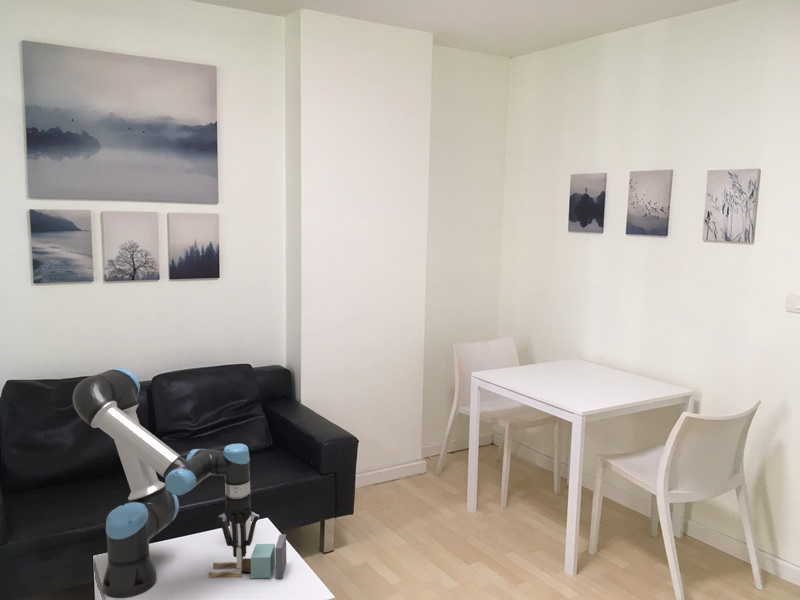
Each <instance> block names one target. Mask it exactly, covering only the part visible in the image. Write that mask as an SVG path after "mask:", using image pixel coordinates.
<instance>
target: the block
mask: <svg viewBox="0 0 800 600" xmlns="http://www.w3.org/2000/svg"><path fill="white" fill-rule="evenodd" d="M275 547H276V544H275V543H256V544H255V546H254V548H253V551H252V553H251V556H250V558H251V572H250V578H251V579H271V578H272V574H273V571H274V569H275V567H276V565H275Z"/></svg>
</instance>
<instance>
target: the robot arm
mask: <svg viewBox="0 0 800 600" xmlns="http://www.w3.org/2000/svg"><path fill="white" fill-rule="evenodd" d="M140 390H141V384H140V382H139V379H138V377H137V376H136V375H135V373H133V372H132V371H130V370H128V369H126V368H118V367H117V368H113V369H108V370H106V371H104V372H100V373H98V374H95V375H92V376H88V377H86V378H83V379H82V380H81V381H80V382H79V383H77V384H76V386H75V388H74V390H73V393H72V404H73V407H74V409H75V411H76V413H77V414H78V416H79V417H80V418H81V419H82V421H84V422H85V423H86V424H88V425H89V426H90V427H92V428H93V429H97V428H99V429H100V430H101V431H102V432H104V433H105V434H107V435H109V436H110V437H111V438H112V439H113V441H114V443H115V446H116V449H117V453H118V456H119V459H120V462H121V464H122V467H123V471H124V474H125V477H126V480H127V483H128V486H129V489H130V493H129V495H128V498H127V499H128V503H125V504H124V505H122V504H121V505H119V506H117V507H116V508H114V509H112V510H111V511H110V512H109V513H108V515H107V517H106V521H105V522H106V523H105V524H106V525H105V534H106V544H107V545H106V546H107V547H106V548H107V549H106V550H107V562H108V563H107V566H106V570H105V573H104V576H103V580H102V589H103V590H102V591H103V593H104V594H105V595H107V596H109V597H111V598H112V597H113V598H127V597H132V596H137V595H139V594H142V593H145V592H146V591H148V590H149V589H151V588H152V587H153V586H154V585H155V584H156V582H157V579H158V578H157V569H156V567H155V565H154V563H153V561H152V558H151V556H150V540H151V539H153V537H155V536H156V535H158V534H159V533H160V532H161V531H163V530H164V529H165V528H167V527H168V526H169V525H170V524H171V523H172V522H173V521H174V520H175V519H176V517H177V515H178V513H179V509H180V504H179V498H178V496H183V495H185V494H186V493H189V492H190V491H192V490H193V489H195V487H196V486H198V484H200V483H201V482H203V481H205V479H207V478H208V477H209V476H224V485H225V486H224V487H225V488H224V489H225V490H224V491H225V492H224V493H225V510H224V511H223V513H221V514H219V515H218V517H217V521H218V523H219V524H220V527H221V530H222V533H223V535H224V540H225V542H226V546H227V547H232V553H233V555H232V556H233V558H236V562H237V568H236V569H242V560H243V558H246V555H247V547H249V546H251V545H252V542H253V538H254V533H255V529H256V525H257V522H258V520H259V518H260V516H261V515H260V513H255V512H253V508H252V506H251V505H252V504H251V503H252V501H251V477H250V476H251V475H250V473H249V471H250V461H251V459H250V451H249V447H248V445H246V444H244V443H231V444H228V445H226V446H225V447H224V448H223V450H216V449H205V448H193V449H191V450H190V451H189V453H188V454H187V456H186V459H185V458H184V457H183V456H181V455H180V454H179V453H177V452H176V451H175V450H174V449H172V448H171V447H170V446H169V445H167V444H166V443H164V442H163V441H162V440H160V438H158V437H156V435H154V434H152V432H150V431H149V430H148V429H146V428H145V427H143V426H142V425H141V424H140V420H139V418H138V415H137V412H136V411H137V408H138V406H139V402H138V398H137V397H138V395H139V392H140ZM157 473H158V474H159V475H160V476H161V477H162V478H164V479H165V480H164V482H163V481H160V480H159V478H158V475H157ZM250 516H251V527H250V531H249V536H248V540H246V521H247V520H248V518H249V517H250ZM228 520H229V522H228ZM230 522H231V523H232V537H231V534H230V526H229V523H230ZM238 524H240V532H241V544H238V542H239V541H238Z"/></svg>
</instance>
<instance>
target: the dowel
mask: <svg viewBox="0 0 800 600" xmlns="http://www.w3.org/2000/svg"><path fill="white" fill-rule="evenodd" d="M241 573H251V557H249V558H246V557H243V560H242V568H241Z"/></svg>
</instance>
